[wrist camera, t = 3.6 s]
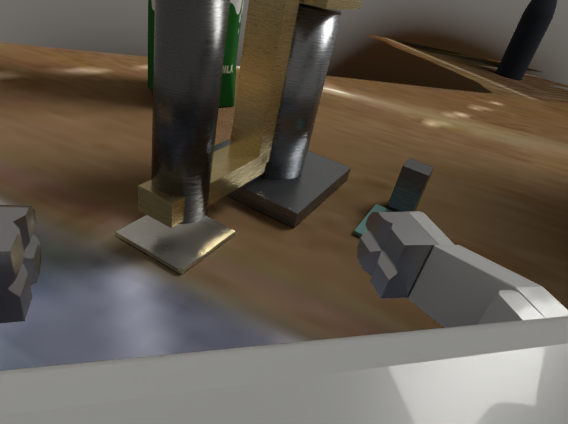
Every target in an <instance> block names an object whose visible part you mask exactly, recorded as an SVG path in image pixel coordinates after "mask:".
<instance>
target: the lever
mask: <svg viewBox="0 0 568 424" xmlns="http://www.w3.org/2000/svg"><path fill="white" fill-rule="evenodd" d="M299 2H302V3H305V4H309V5H312V6H316V7H320V8H323V9H359V8H360V4H361V0H249V4H248V12H247V19H246V27H245V34H244V42H243V51H242V57H241V65H240V73H239V80H238V88H237V95H236V103H235V111H234V118H233V126H232V133H231V141H230V145H228V146H226V147H224V148H221V149H219V150H217V151H215V152H214V144H215V135H216V126H217V117H218V107H219V98H220V89H221V80H222V71H223V62H224V52H225V43H226V34H227V25H228V16H229V7H230V0H155V25H154V75H153V125H152V176H151V180H149V181H147V182H145V183H143V184H140V185H138V210H139V211H141V212H143V213H144V214H146V215H148V216H150V217H152V218H153V219H155V220H157V221H159V222H161V223H163V224H164V225H166V226H168V227H170V228H173V227H175V226H176V225H178V224H189V223H194V222H197V221H199V220H201V219H202V218H204V217H205V215H206V214H207V208H208V206H209V205H211V204H213V203H214V202H216V201H218V200H219V199H221V198H223V197H224V196H226V195H228V194H229V193H231V192H233V191H234V190H236V189H238V188H239V187H241V186H243V185H244V184H246V183H248V182H249V181H251V180H253V179H254V178H256V177H258V176H259V175H261V174H262V173H264V171H265V166H266V162H268V161H269V159H270V153H271V148H272V143H273V138H274V132H275V127H276V122H277V117H278V112H279V106H280V101H281V96H282V91H283V86H284V80H285V75H286V70H287V65H288V59H289V54H290V49H291V44H292V39H293V33H294V28H295V23H296V18H297V12H298V7H299Z"/></svg>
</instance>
